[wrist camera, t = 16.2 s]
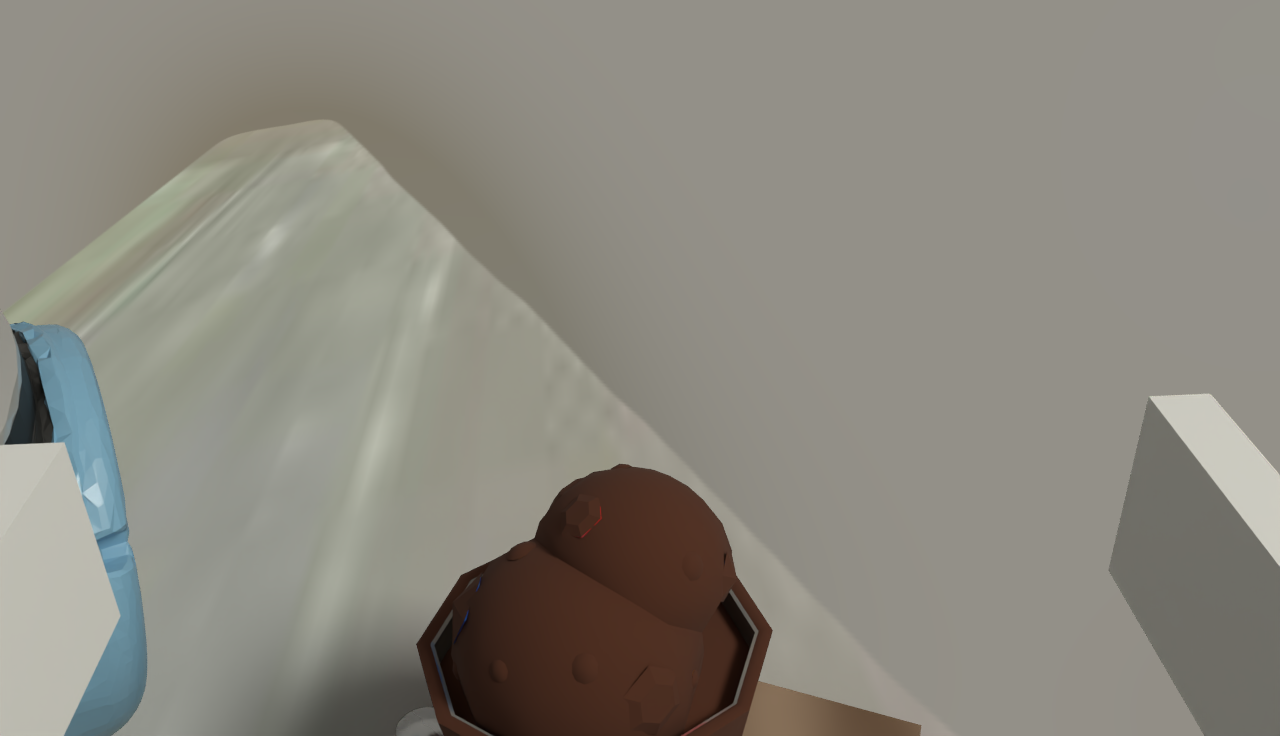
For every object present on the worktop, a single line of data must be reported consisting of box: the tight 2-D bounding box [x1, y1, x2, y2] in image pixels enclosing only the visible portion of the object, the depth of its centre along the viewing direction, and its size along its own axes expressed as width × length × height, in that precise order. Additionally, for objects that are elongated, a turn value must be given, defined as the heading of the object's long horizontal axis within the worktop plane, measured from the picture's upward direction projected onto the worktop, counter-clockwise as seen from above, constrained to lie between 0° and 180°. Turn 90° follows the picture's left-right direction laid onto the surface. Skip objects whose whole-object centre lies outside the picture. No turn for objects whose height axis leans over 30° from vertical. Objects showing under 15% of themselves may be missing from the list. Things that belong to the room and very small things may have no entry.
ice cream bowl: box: [416, 464, 773, 736], centre depth 38 cm, size 11×11×15 cm
